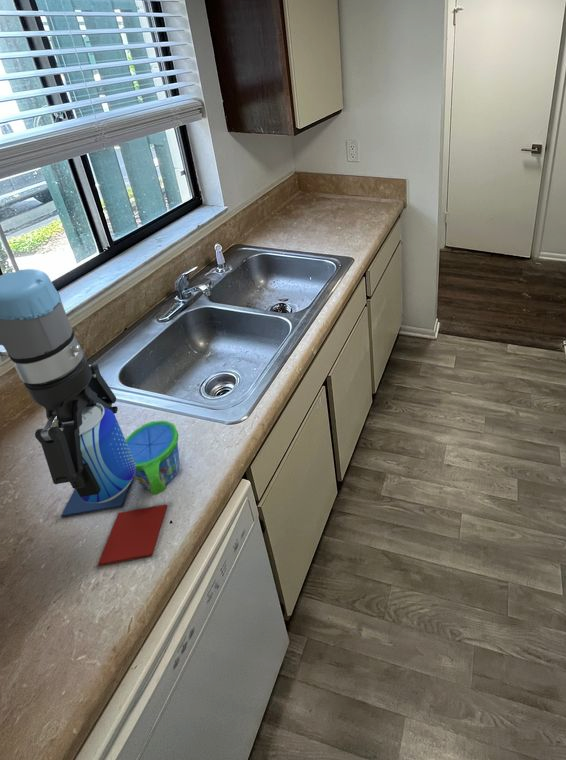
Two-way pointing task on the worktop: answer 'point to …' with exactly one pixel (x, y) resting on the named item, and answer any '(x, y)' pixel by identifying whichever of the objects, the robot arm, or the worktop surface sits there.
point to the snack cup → (155, 454)
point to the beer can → (105, 453)
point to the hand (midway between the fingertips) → (103, 467)
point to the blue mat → (92, 504)
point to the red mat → (133, 535)
